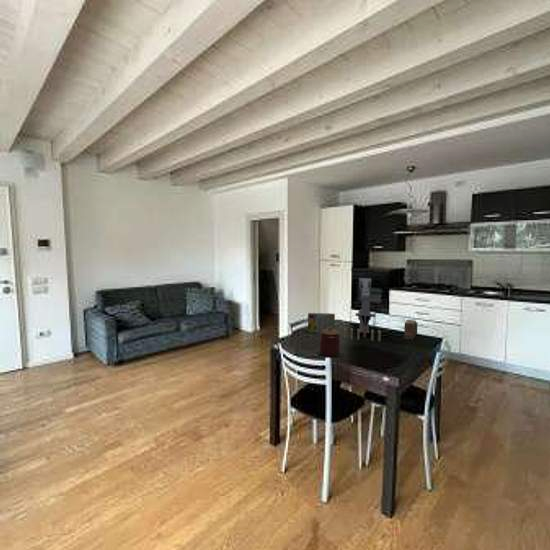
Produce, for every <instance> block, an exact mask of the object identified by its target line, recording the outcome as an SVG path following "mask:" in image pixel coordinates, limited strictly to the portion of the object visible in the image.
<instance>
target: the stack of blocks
mask: <svg viewBox="0 0 550 550" xmlns="http://www.w3.org/2000/svg"><path fill="white" fill-rule="evenodd" d="M418 322H419V321H418ZM418 322H417V321H416V320H413V319H412V320H411V319H407V320H406V321H405V322H404V329H403V330H404V332H403V339H404V340H410V339H413V340H414V338H415V337H416V336H417V334H418Z"/></svg>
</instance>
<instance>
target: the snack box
mask: <svg viewBox="0 0 550 550" xmlns="http://www.w3.org/2000/svg"><path fill="white" fill-rule="evenodd" d="M335 321H336V315H335V313H329V312H328V313H326V312H325V313H322V312H321V313H319V312H318V313H317V312H308V313H307V332H308V333H317V334H318V333H320V334H322V332H321V331H322V330H324V329H328V328H329V327H332V329H335V330H336V327H335Z"/></svg>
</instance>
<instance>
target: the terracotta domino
mask: <svg viewBox="0 0 550 550" xmlns="http://www.w3.org/2000/svg"><path fill="white" fill-rule="evenodd" d="M363 338H367V333H366V327H364V332H363Z"/></svg>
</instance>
